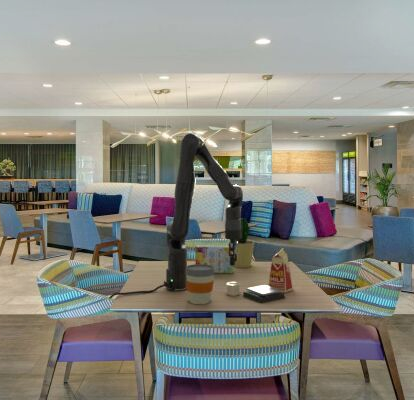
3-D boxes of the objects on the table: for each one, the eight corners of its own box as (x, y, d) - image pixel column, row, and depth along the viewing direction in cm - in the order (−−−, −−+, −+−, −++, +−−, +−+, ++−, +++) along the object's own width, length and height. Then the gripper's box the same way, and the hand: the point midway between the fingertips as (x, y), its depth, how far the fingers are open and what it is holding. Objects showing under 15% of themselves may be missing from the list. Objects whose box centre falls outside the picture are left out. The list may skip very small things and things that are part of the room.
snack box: (232, 271, 234) (232, 245, 233) (232, 273, 228) (232, 247, 228) (196, 270, 236) (196, 245, 235) (195, 272, 230) (195, 246, 230)
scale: (260, 302, 175) (261, 296, 174) (243, 296, 185) (243, 290, 185) (284, 297, 182) (284, 291, 182) (266, 291, 192) (266, 285, 192)
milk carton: (276, 286, 202) (276, 246, 201) (293, 289, 196) (293, 248, 195) (267, 290, 195) (267, 248, 194) (284, 293, 189) (285, 250, 188)
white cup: (231, 296, 184) (231, 285, 184) (223, 293, 189) (224, 282, 189) (242, 294, 187) (242, 284, 187) (234, 291, 192) (234, 281, 192)
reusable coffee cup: (212, 296, 184) (213, 264, 183) (215, 305, 171) (215, 270, 170) (185, 297, 183) (185, 264, 182) (185, 305, 171) (185, 270, 170)
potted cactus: (255, 263, 256) (256, 216, 254) (252, 268, 241) (253, 218, 239) (231, 262, 260) (231, 215, 258) (227, 267, 245) (227, 217, 244)
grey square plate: (262, 295, 176) (262, 293, 176) (246, 289, 185) (246, 288, 185) (281, 292, 181) (281, 290, 181) (264, 286, 191) (264, 284, 191)
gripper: (227, 226, 195) (227, 260, 196) (223, 230, 181) (223, 266, 182) (242, 226, 193) (242, 260, 194) (239, 230, 180) (240, 266, 180)
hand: (233, 263), depth 188 cm, fingers open, 8 cm apart
